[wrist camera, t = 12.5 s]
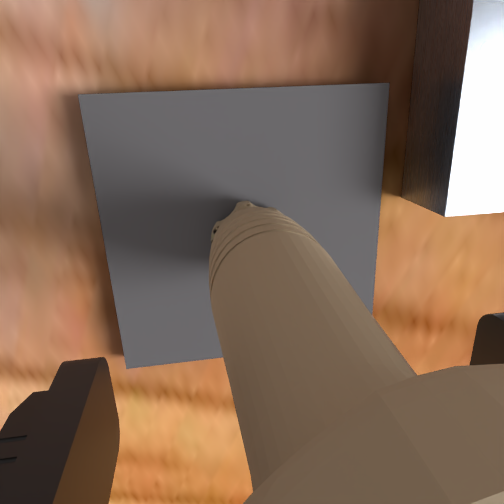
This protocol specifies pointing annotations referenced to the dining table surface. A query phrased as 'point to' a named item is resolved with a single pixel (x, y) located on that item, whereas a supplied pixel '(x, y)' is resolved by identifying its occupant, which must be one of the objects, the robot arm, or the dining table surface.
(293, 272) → the handle
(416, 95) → the holder
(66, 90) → the dining table surface
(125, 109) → the mat
